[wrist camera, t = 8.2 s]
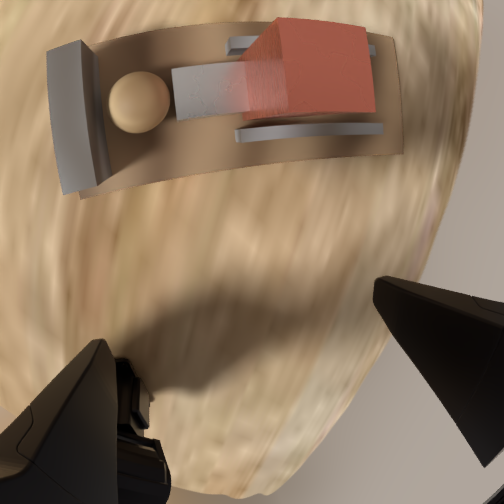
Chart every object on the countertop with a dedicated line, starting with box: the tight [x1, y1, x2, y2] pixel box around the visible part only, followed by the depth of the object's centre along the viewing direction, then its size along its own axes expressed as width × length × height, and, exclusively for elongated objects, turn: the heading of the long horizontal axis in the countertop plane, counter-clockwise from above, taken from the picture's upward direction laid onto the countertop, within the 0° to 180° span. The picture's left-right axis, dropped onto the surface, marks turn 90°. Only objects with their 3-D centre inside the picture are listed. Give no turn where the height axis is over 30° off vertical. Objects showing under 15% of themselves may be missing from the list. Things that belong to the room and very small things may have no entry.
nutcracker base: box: [47, 22, 403, 200], centre depth 16 cm, size 24×10×5 cm, turn 96°
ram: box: [171, 17, 376, 122], centre depth 13 cm, size 8×4×8 cm, turn 96°
